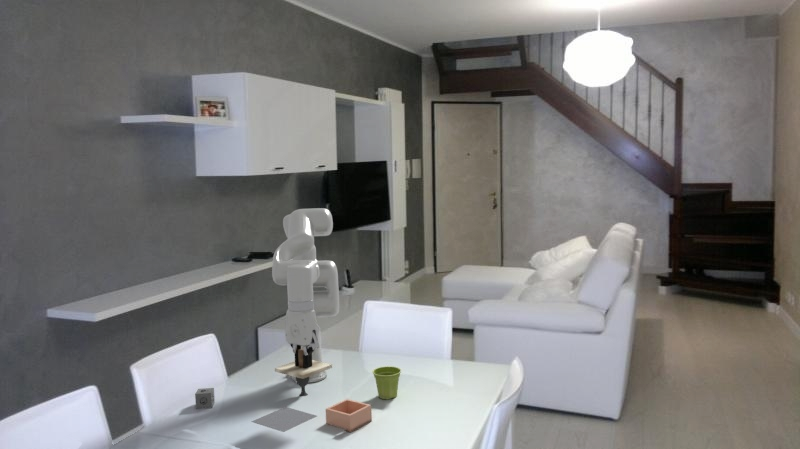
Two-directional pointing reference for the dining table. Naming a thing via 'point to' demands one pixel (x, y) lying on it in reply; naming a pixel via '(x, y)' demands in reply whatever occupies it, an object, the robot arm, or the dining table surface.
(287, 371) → the wooden lid with knob
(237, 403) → the dining table surface
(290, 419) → the mat
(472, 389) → the dining table surface
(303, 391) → the sundae
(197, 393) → the dice cube
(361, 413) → the salmon pink open box
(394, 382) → the plant pot
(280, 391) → the dining table surface
